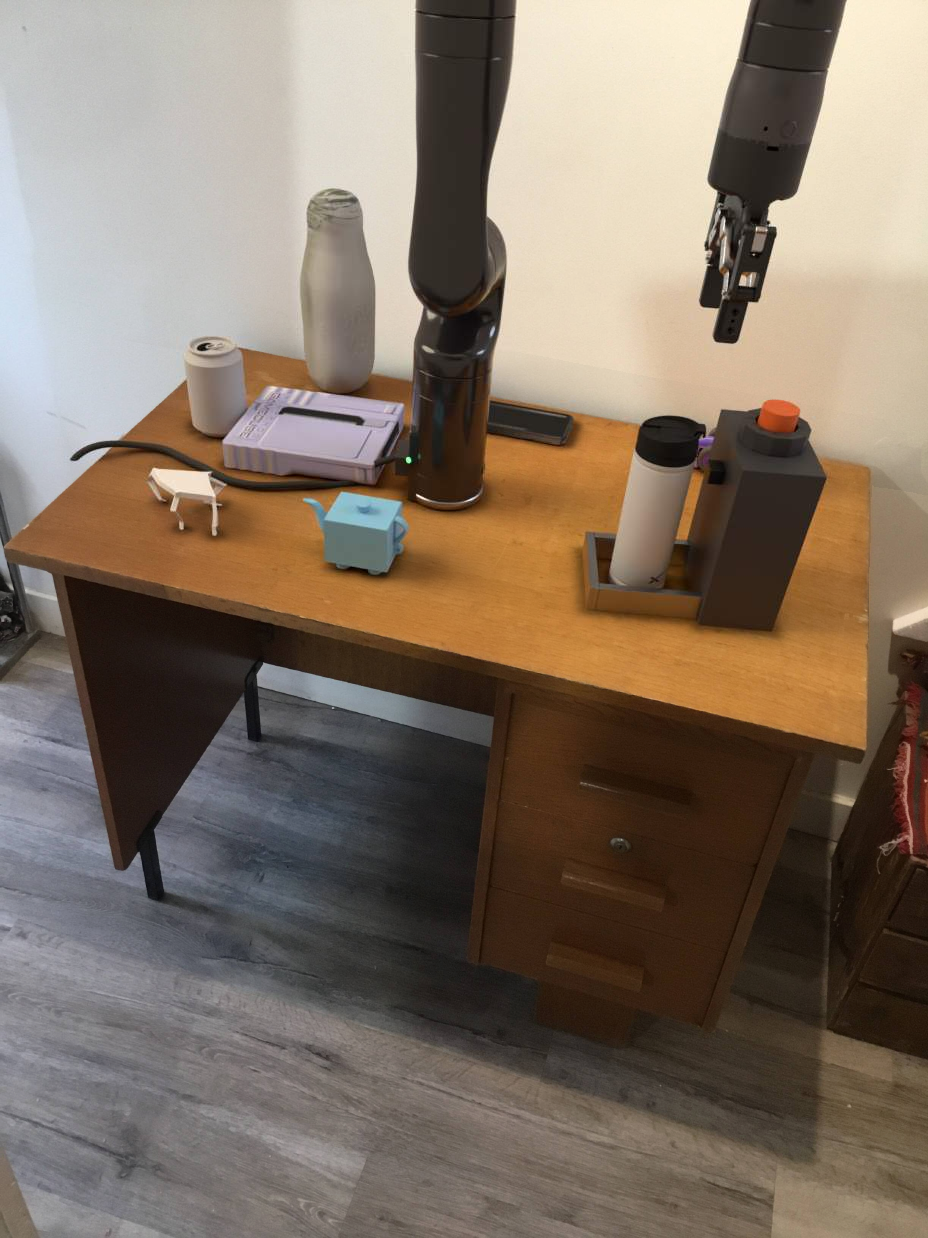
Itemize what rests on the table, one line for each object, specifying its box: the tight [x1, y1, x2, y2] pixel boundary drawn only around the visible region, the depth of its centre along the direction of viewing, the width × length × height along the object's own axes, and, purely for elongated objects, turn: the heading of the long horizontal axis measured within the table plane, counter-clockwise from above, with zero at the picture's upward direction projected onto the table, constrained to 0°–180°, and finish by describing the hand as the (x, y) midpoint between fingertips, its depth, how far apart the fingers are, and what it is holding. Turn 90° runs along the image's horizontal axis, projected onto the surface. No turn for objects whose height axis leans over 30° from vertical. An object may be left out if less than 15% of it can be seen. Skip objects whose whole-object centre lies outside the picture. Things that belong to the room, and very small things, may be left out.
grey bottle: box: [299, 188, 377, 395], centre depth 128 cm, size 10×10×28 cm
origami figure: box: [146, 467, 228, 537], centre depth 107 cm, size 12×8×5 cm
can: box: [183, 334, 248, 438], centre depth 122 cm, size 8×8×12 cm
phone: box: [487, 399, 574, 446], centre depth 131 cm, size 8×1×15 cm
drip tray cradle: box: [581, 459, 725, 620], centre depth 98 cm, size 12×11×16 cm
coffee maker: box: [684, 407, 828, 632], centre depth 96 cm, size 8×13×21 cm, turn 177°
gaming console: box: [221, 385, 405, 486], centre depth 122 cm, size 18×4×20 cm
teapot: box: [302, 491, 409, 576], centre depth 101 cm, size 12×6×8 cm, turn 78°
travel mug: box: [607, 414, 707, 589], centre depth 97 cm, size 6×7×20 cm
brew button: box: [757, 399, 801, 433], centre depth 89 cm, size 4×4×2 cm
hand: (716, 323), depth 84 cm, fingers open, 8 cm apart
